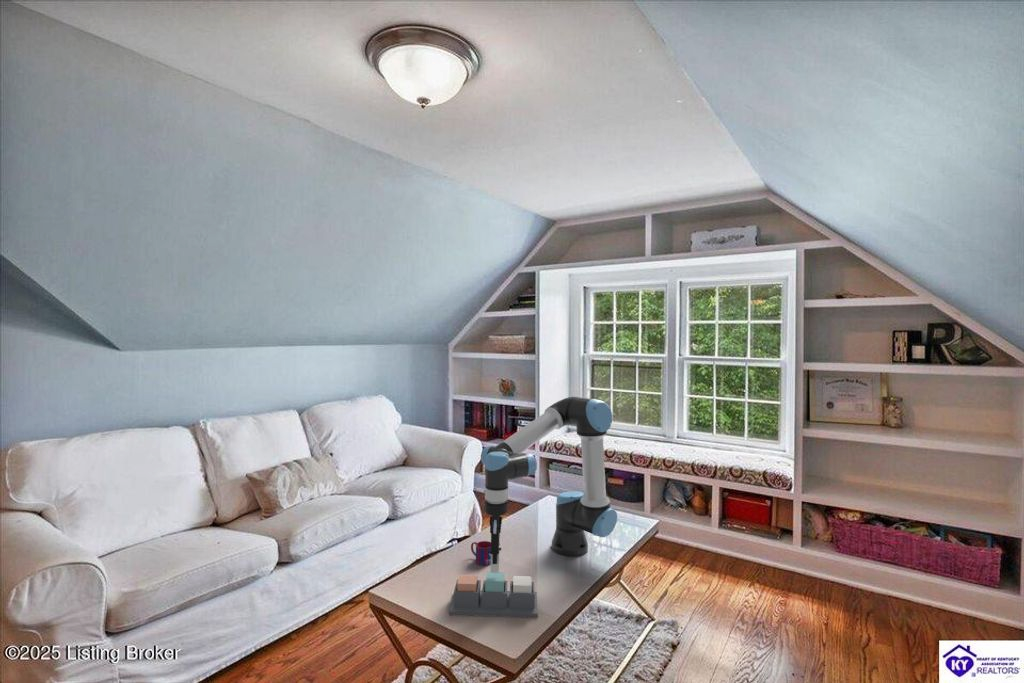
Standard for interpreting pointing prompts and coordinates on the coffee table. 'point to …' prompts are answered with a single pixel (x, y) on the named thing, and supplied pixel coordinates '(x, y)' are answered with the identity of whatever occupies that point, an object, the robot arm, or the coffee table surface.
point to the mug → (482, 552)
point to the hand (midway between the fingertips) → (494, 571)
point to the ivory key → (522, 584)
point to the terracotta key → (467, 583)
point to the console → (494, 602)
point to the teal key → (494, 582)
